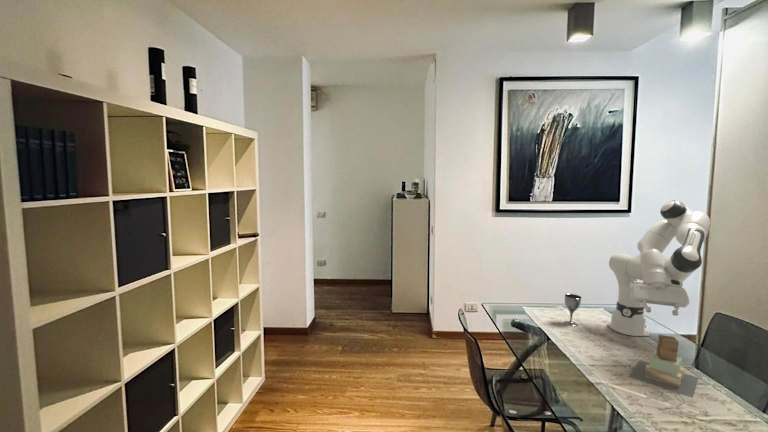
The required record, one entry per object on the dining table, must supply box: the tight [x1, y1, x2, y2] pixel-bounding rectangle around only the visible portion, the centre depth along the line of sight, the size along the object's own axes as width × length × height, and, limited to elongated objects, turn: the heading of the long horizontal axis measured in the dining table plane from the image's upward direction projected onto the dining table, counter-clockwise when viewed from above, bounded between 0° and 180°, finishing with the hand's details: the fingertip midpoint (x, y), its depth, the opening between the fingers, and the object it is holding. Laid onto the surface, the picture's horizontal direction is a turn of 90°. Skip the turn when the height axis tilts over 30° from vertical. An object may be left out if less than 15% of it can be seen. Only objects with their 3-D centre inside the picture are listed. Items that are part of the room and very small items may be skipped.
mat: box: [628, 359, 700, 398], centre depth 155 cm, size 20×20×1 cm
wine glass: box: [563, 293, 582, 327], centre depth 210 cm, size 8×8×15 cm
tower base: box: [644, 360, 685, 388], centre depth 155 cm, size 11×11×4 cm
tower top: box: [649, 350, 683, 376], centre depth 154 cm, size 9×9×4 cm
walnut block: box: [656, 334, 680, 362], centre depth 154 cm, size 5×5×8 cm
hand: (662, 313), depth 161 cm, fingers open, 8 cm apart
